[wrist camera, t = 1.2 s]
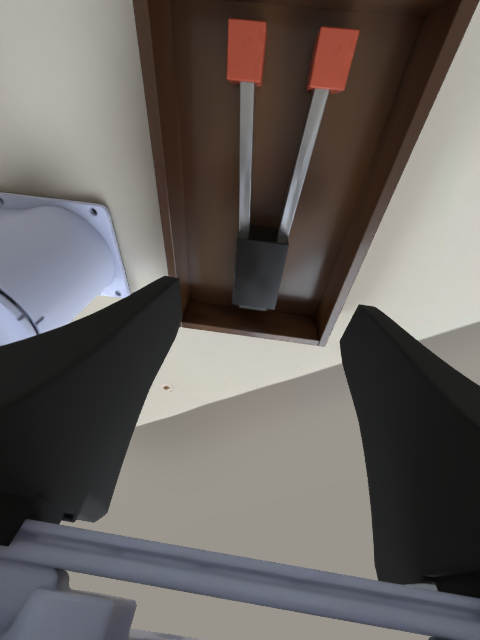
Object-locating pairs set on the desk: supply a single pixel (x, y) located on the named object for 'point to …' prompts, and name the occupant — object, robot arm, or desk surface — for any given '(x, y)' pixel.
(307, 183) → the tray
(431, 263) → the desk surface
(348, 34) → the tongs
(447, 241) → the desk surface
